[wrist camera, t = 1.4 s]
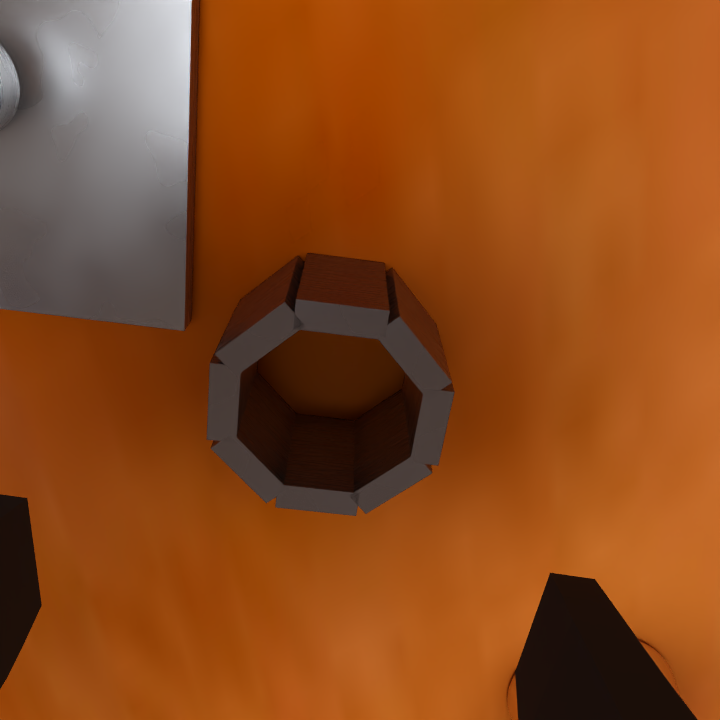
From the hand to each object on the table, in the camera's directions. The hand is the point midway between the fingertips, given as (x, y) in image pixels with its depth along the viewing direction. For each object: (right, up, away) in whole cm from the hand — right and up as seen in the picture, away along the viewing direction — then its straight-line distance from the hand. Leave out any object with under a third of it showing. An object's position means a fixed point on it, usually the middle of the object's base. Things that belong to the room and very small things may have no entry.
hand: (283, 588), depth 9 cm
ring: (0, +3, +9) cm, 10 cm away
